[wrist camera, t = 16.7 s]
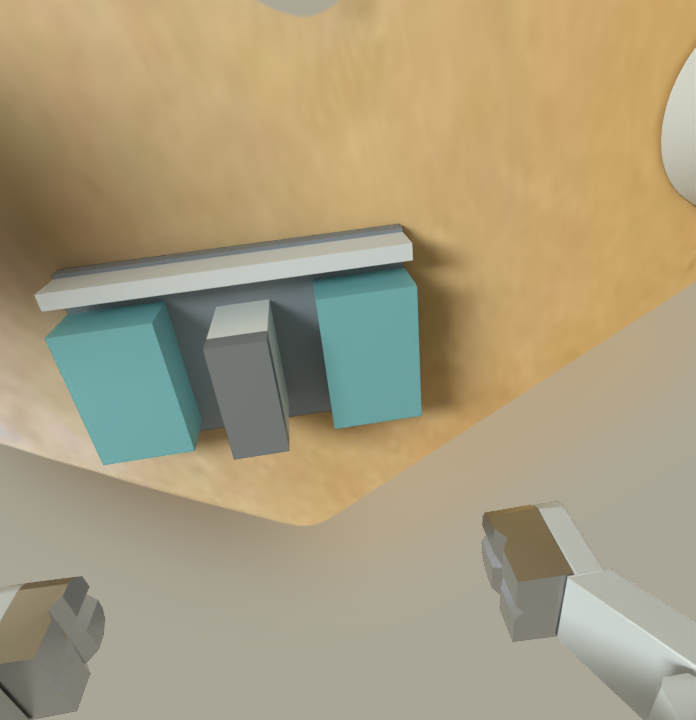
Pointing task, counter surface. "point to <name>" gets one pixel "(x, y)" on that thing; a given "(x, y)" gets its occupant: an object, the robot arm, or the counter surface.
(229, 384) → the block
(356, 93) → the counter surface
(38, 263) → the counter surface
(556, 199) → the counter surface
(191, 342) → the board
